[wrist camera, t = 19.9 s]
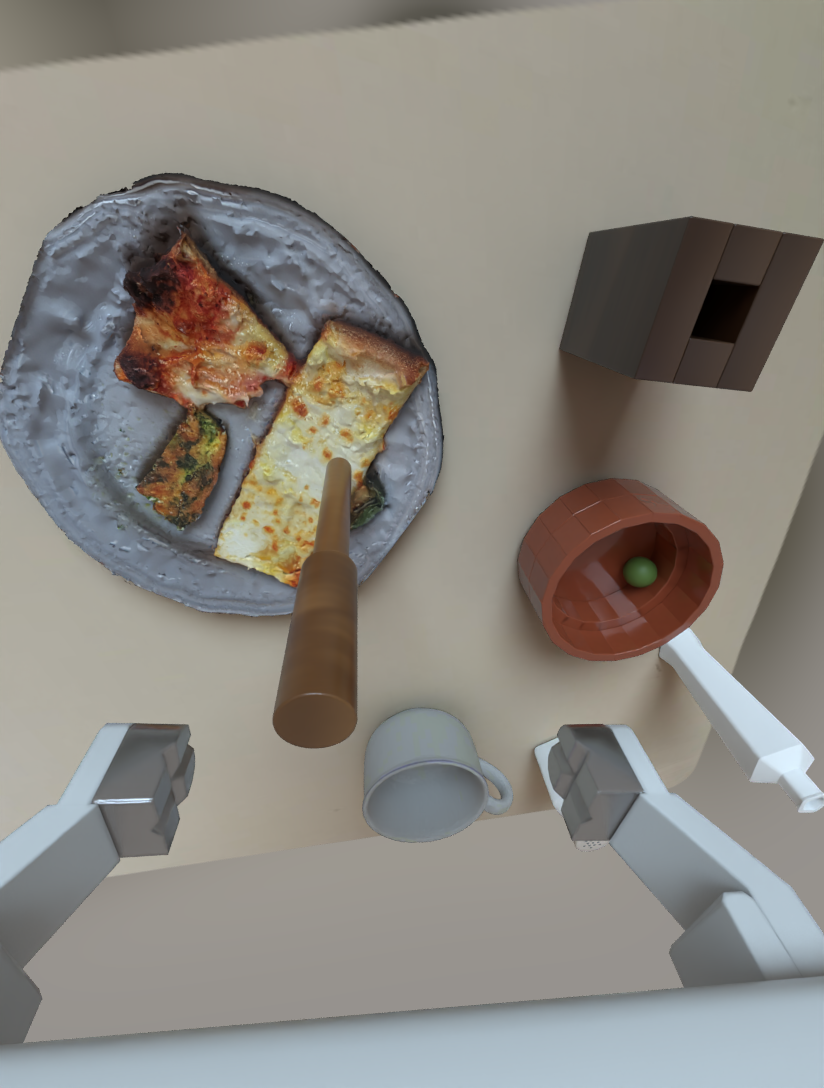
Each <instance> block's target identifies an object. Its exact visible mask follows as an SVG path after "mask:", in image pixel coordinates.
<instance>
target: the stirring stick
mask: <svg viewBox="0 0 824 1088" xmlns="http://www.w3.org/2000/svg"><path fill="white" fill-rule="evenodd" d="M351 478H352V467H351V464H350V463H349V462H348V461H347V460H346V459H344V458H341V457H336V458H333V459H331V460H330V461H329V462H328V464H327V467H326V473H325V479H324V486H323V492H322V498H321V504H320V511H319V517H318V523H317V530H316V536H315V542H314V548H313V554H312V555H310V556H309V557H308V558H307V559H306V560H305V561H304V563H303V564H302V567H301V571H300V576H299V582H298V587H297V592H296V597H295V603H294V608H293V613H292V618H291V624H290V629H289V634H288V639H287V645H286V650H285V655H284V660H283V666H282V671H281V676H280V681H279V687H278V692H277V697H276V702H275V708H274V713H273V726H274V729H275V731H276V732H277V734H278V735H279V736H280V737H281V738H282V739H283V740H285V741H286V742H288V743H290V744H293V745H295V746H299V747H303V748H324V747H329V746H333V745H336V744H338V743H340V742H342V741H344V740H345V739H346V738H348V737H349V736H350V735H351V733H352V732H353V731H354V729H355V727H356V724H357V568H356V565H355V563H354V562H353V560H352V559H351V558H350V557H349V544H350V511H351Z"/></svg>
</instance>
